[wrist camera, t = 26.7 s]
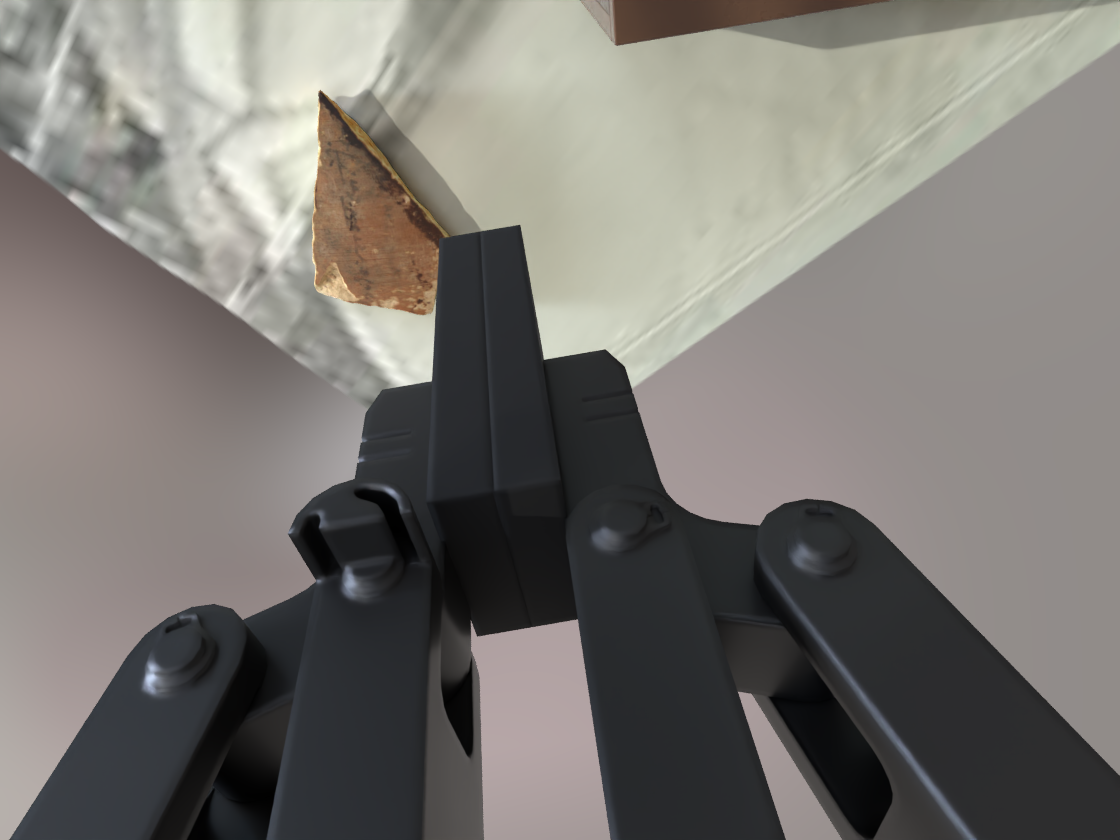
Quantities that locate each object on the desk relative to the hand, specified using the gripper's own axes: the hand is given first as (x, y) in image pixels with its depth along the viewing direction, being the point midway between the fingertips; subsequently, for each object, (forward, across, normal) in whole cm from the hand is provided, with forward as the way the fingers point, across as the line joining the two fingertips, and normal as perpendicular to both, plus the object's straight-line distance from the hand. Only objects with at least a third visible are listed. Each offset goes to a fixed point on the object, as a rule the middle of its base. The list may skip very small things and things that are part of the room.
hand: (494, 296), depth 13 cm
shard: (+25, -8, -8) cm, 27 cm away
